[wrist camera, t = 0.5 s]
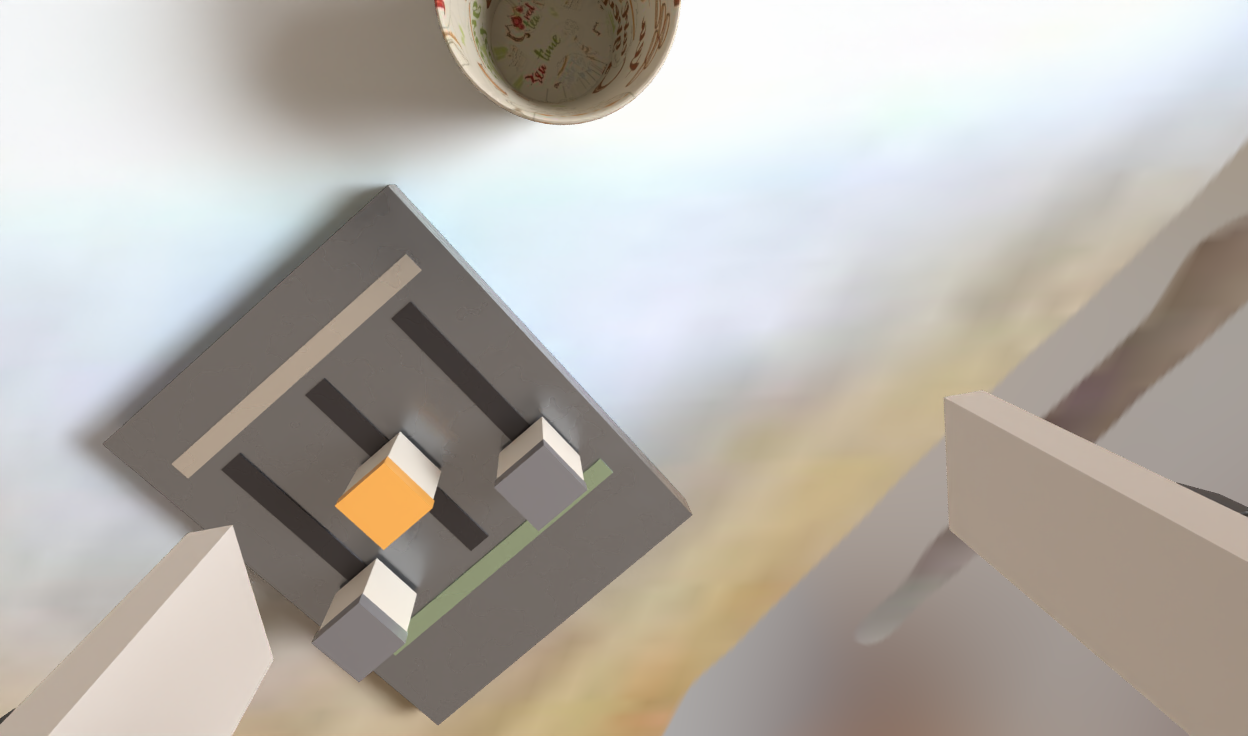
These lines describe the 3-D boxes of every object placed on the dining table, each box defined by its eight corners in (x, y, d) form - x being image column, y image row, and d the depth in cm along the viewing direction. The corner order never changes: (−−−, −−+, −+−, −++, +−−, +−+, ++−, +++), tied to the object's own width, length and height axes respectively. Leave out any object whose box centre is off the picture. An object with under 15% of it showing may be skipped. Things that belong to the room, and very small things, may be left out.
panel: (124, 429, 37) (101, 444, 35) (395, 184, 36) (387, 185, 34) (442, 700, 43) (437, 726, 41) (685, 498, 42) (692, 515, 40)
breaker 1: (334, 592, 38) (311, 643, 34) (376, 556, 38) (358, 602, 34) (376, 629, 39) (359, 682, 35) (418, 593, 39) (405, 643, 35)
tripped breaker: (355, 468, 37) (334, 505, 33) (400, 430, 37) (384, 462, 33) (399, 508, 38) (383, 550, 34) (442, 471, 37) (432, 508, 33)
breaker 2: (497, 452, 38) (494, 487, 33) (542, 414, 37) (543, 445, 33) (537, 492, 38) (538, 531, 34) (581, 455, 38) (587, 490, 34)
